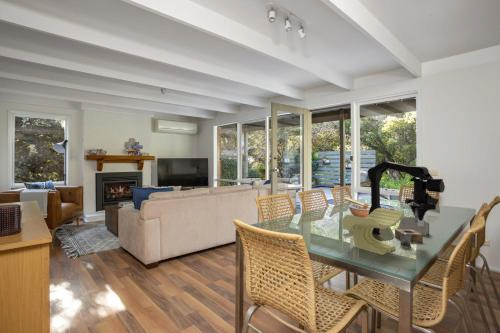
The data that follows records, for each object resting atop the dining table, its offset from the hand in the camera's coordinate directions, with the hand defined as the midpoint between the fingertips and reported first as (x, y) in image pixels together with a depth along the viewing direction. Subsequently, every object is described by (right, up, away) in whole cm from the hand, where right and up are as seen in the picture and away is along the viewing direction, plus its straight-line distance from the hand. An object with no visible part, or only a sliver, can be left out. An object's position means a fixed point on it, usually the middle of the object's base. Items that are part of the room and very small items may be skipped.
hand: (419, 219), depth 141 cm
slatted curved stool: (-27, -13, -5) cm, 30 cm away
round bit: (-8, -13, -1) cm, 15 cm away
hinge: (+12, -12, +24) cm, 29 cm away
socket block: (0, -13, +9) cm, 15 cm away
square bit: (0, -3, 0) cm, 3 cm away
